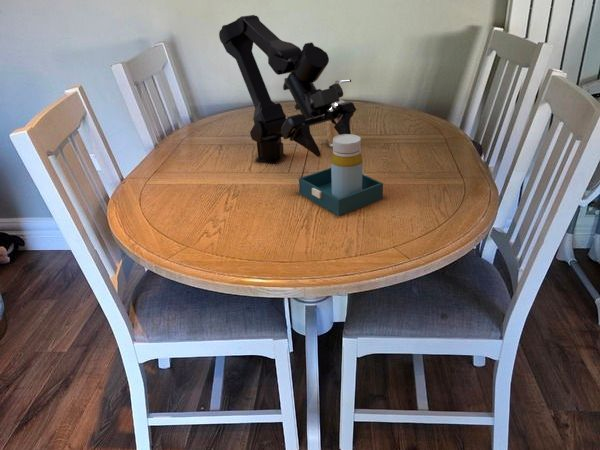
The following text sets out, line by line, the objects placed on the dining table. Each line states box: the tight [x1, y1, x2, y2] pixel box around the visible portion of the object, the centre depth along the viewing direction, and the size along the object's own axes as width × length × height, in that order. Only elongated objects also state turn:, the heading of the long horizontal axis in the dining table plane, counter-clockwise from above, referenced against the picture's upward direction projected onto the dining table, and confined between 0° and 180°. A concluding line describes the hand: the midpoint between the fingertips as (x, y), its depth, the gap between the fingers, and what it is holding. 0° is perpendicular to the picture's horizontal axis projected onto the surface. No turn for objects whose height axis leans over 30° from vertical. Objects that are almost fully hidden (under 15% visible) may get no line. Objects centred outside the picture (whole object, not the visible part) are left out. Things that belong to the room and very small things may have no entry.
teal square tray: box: [298, 167, 384, 217], centre depth 115 cm, size 15×14×4 cm
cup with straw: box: [324, 78, 352, 148], centre depth 140 cm, size 8×9×20 cm
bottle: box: [330, 133, 364, 198], centre depth 110 cm, size 7×7×15 cm
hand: (335, 150), depth 111 cm, fingers open, 9 cm apart
